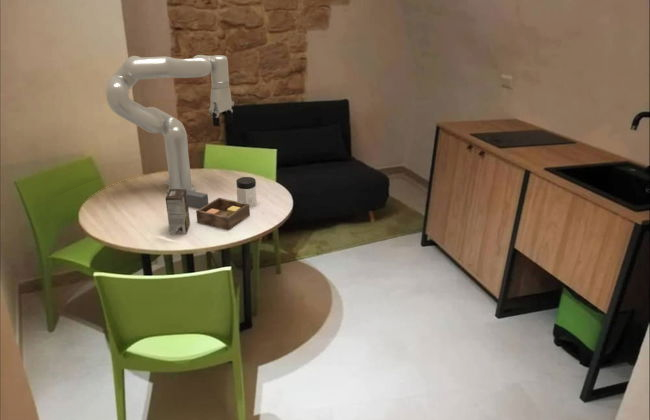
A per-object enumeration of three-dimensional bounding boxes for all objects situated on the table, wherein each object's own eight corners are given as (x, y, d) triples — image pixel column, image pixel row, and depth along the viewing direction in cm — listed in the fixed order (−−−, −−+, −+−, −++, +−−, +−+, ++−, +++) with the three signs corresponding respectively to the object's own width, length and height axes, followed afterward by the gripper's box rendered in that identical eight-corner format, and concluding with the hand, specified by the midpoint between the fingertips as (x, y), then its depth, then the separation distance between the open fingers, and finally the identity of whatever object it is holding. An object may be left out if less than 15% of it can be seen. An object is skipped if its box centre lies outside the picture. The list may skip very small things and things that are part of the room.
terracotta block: (206, 221, 196) (205, 212, 195) (212, 217, 200) (211, 208, 198) (214, 223, 195) (213, 214, 193) (220, 219, 198) (219, 210, 196)
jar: (241, 211, 208) (240, 185, 203) (233, 204, 214) (232, 179, 209) (260, 206, 212) (259, 181, 207) (252, 200, 218) (251, 175, 213)
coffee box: (174, 226, 194) (169, 188, 187) (190, 225, 194) (186, 188, 188) (169, 237, 185) (164, 198, 179) (186, 236, 186) (182, 197, 179)
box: (197, 224, 195) (196, 210, 193) (220, 210, 208) (219, 197, 205) (228, 232, 190) (227, 218, 187) (249, 217, 202) (249, 204, 200)
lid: (169, 213, 206) (167, 197, 203) (192, 199, 220) (190, 184, 217) (200, 220, 201) (199, 204, 198) (222, 205, 214) (221, 190, 211)
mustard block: (227, 218, 199) (226, 209, 197) (233, 214, 202) (232, 205, 201) (235, 220, 197) (235, 211, 196) (241, 216, 201) (240, 207, 199)
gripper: (225, 81, 222) (227, 118, 229) (201, 87, 208) (204, 127, 215) (238, 82, 219) (240, 120, 226) (215, 89, 205) (218, 129, 212)
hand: (223, 123), depth 221 cm, fingers open, 9 cm apart
